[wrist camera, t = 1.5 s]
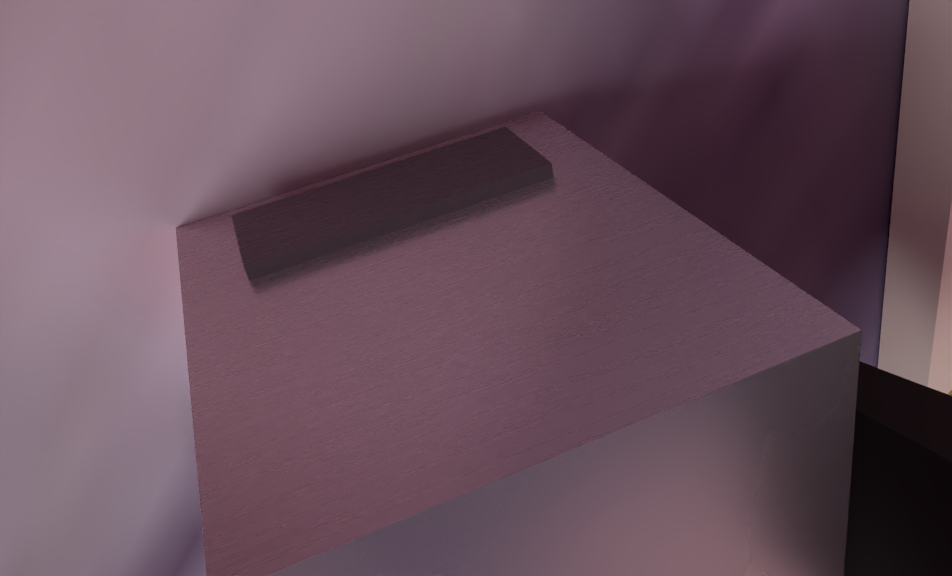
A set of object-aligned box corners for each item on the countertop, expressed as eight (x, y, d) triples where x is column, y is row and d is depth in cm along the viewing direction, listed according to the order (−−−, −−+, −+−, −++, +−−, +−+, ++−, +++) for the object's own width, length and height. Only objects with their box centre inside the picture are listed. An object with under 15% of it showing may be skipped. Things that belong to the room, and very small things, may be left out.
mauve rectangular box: (609, 560, 14) (830, 903, 9) (369, 667, 13) (488, 1097, 9) (535, 95, 9) (881, 320, 5) (169, 212, 9) (197, 603, 4)
